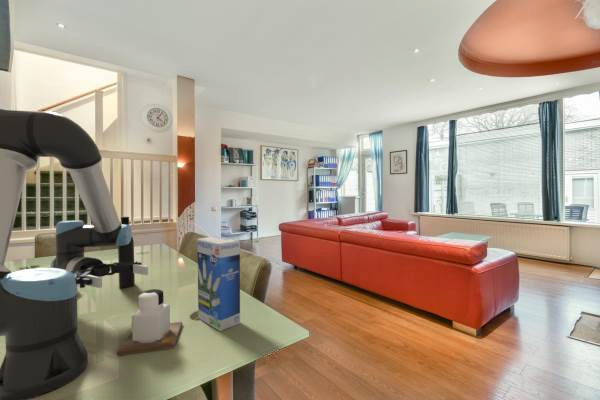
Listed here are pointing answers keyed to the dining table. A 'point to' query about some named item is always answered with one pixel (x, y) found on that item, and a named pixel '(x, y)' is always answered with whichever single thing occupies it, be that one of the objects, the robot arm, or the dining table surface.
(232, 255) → the string lights box
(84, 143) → the robot arm
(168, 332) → the plate
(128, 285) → the wine bottle
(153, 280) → the dining table surface
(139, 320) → the medicine bottle
